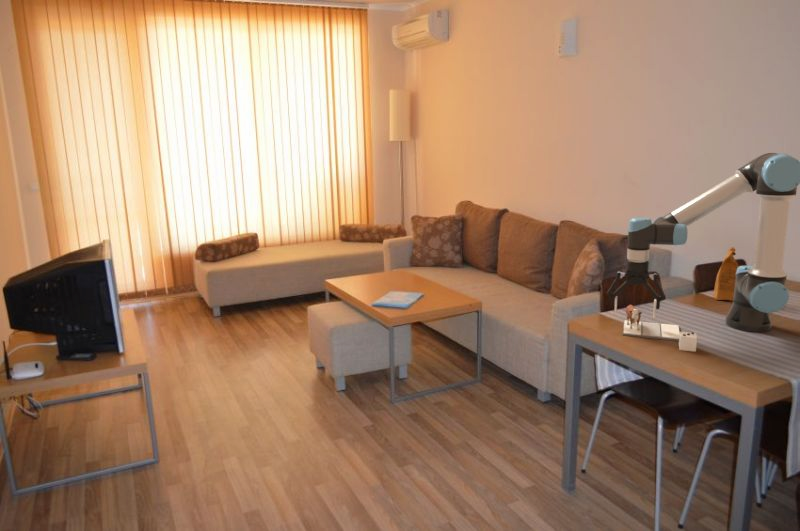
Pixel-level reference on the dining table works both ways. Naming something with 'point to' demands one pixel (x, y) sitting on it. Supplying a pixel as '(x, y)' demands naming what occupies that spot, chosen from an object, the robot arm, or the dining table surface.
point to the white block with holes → (687, 341)
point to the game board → (652, 330)
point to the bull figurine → (633, 316)
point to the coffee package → (726, 278)
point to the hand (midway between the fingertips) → (634, 315)
